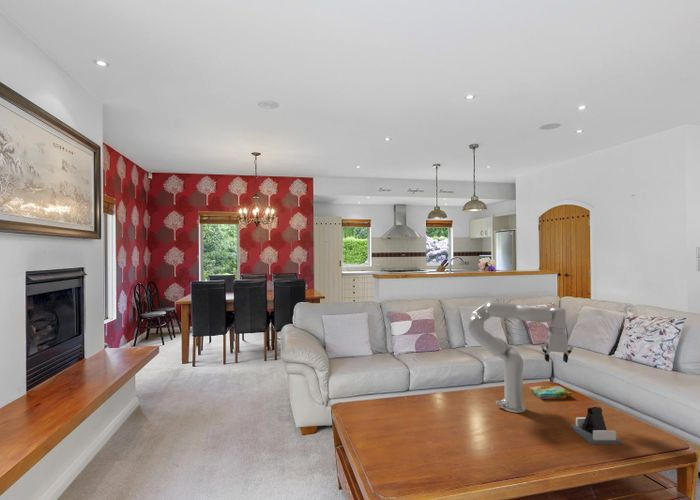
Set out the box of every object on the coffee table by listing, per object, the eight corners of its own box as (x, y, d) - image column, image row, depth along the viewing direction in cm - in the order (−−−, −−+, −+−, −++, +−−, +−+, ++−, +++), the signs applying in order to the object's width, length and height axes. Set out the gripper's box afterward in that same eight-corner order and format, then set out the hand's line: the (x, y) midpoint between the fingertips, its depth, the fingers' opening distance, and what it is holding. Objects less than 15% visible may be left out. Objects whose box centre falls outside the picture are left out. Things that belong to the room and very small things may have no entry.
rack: (591, 444, 173) (591, 432, 173) (570, 427, 189) (570, 416, 189) (621, 444, 173) (621, 432, 173) (598, 427, 189) (598, 416, 189)
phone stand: (581, 428, 184) (581, 404, 184) (590, 427, 186) (590, 403, 186) (598, 437, 176) (598, 412, 176) (608, 435, 178) (608, 410, 178)
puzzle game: (529, 385, 235) (559, 384, 236) (529, 393, 235) (559, 392, 236) (540, 392, 223) (572, 391, 225) (540, 400, 223) (572, 399, 225)
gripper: (544, 331, 202) (543, 362, 202) (577, 332, 201) (576, 364, 201) (537, 328, 210) (536, 358, 210) (569, 329, 209) (568, 360, 209)
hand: (556, 361), depth 206 cm, fingers open, 9 cm apart
